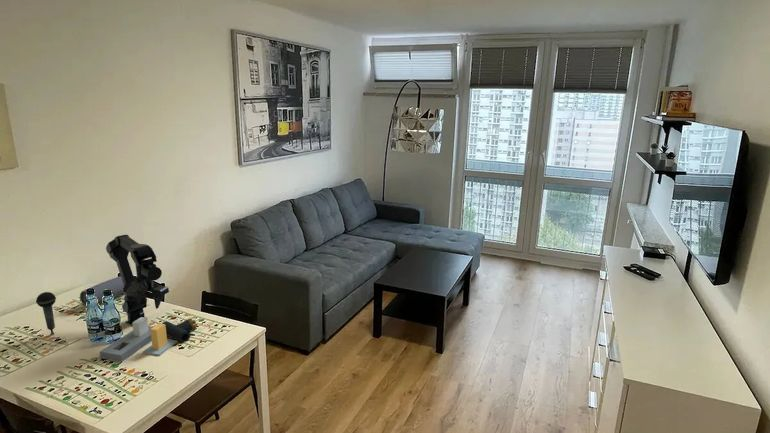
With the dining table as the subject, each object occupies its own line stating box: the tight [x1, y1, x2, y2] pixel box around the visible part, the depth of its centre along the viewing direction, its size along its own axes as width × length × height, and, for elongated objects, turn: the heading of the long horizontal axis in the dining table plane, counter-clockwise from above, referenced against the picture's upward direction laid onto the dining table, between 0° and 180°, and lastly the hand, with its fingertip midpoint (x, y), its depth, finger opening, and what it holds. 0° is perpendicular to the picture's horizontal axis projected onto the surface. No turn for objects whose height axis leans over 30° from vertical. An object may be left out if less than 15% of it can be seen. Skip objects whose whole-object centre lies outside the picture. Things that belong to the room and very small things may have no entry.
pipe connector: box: [161, 317, 197, 344], centre depth 195 cm, size 12×5×15 cm
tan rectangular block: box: [150, 323, 168, 350], centre depth 183 cm, size 3×5×9 cm, turn 166°
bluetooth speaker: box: [79, 275, 125, 307], centre depth 224 cm, size 23×9×10 cm, turn 159°
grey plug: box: [131, 317, 149, 337], centre depth 189 cm, size 3×5×9 cm, turn 167°
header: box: [99, 325, 154, 363], centre depth 184 cm, size 10×22×3 cm, turn 167°
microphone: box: [35, 291, 57, 336], centre depth 188 cm, size 7×7×20 cm
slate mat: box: [142, 338, 179, 357], centre depth 184 cm, size 8×11×1 cm
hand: (148, 307), depth 193 cm, fingers open, 9 cm apart
